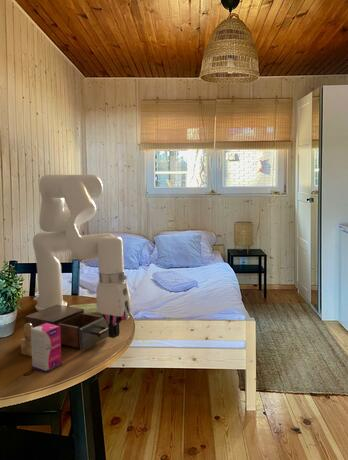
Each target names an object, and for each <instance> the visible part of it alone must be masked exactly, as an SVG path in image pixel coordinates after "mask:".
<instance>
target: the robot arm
mask: <svg viewBox="0 0 348 460" xmlns="http://www.w3.org/2000/svg"><path fill="white" fill-rule="evenodd" d="M103 186H104V185H103V183H102V180H101V178H99V176H97V175H96V174H45V175H42V176H41V177H40V178H39V182H38V188H39V193H40V197H41V202H40V210H39V219H38V220H39V222H38V223H39V228H40V229H41V230H42V231H39V232H37V233H36V234H35V235H34V236H33V237H32V246H33V250H34V254H35V262H36V275H37V276H36V277H37V290H38V291H37V292H38V294H37V295H35V297H33V301H35V302H37V304H36V305H34V307H35V310H36V311H37V312H38V311H41V310H43V309H46V308H49V307H51V306H54V305H63V306H68V302H67V301H65V300H64V295H63V294H64V293H63V292H64V291H63V277H62V276H63V275H62V264H61V262H60V260H59V259H58V258H57V257H56V256H55V255H58V254H65V253H66V254H67V253H71V254H72V256H73V257H74V258H75V259H76V260H79V261H86V260H93V259H97V264H98V281H97V286H96V296H95V299H96V300H95V304H96V306H97V311H98V315H99V316H101V317H103V318H104V319H105V320H106V324H108V332H109V337H108V338H111V339H115V338H117V337H119V336H120V333H121V331H120V324H121V323H122V321H127V320H129V319H130V315H129V313H131V311H132V304H131V302H132V301H131V295H130V289H129V285H128V282H127V281H126V280H127V279H128V275H126V274H125V261H124V241H123V239H122V238H121V236H117V235H113V234H112V233H108V232H104V233H93V234H82V235H81V234H80V229H81V226H82V224H84V223H87V222H88V221H90V220H91V219H92V218H93V217H95V215H96V213H97V205H96V204H95V201H94V199H99V198H100V197H102V195H103V192H104V187H103ZM65 204H66V206H65Z"/></svg>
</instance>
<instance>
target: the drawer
mask: <svg viewBox="0 0 348 460" xmlns="http://www.w3.org/2000/svg"><path fill="white" fill-rule="evenodd" d="M55 325H56V326H60V338H61V345H65V346H69V347H72V348H79V351H86V350H87V349H89V348H90V347H92V346H94V345H96V344H98V343H100V342H101V341H103V340H105V339H107V338H110V337H109V332H108V324H106V320H105V319H104V318H103V317H101V316H98V315H92V314H86V313H79V314H76V315H74V316H72V317H69V318H67V319H65V320H62V321H60V322H58V323H55Z"/></svg>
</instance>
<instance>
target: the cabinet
mask: <svg viewBox="0 0 348 460" xmlns="http://www.w3.org/2000/svg"><path fill="white" fill-rule="evenodd" d="M69 306H70V305H69ZM69 306H68V305H67V306H63V305H54V306H51V307H49V308H46V309H43V310H41V311H38V310H37V311H36V312H32V313H29V314H27V315H25V316H24V322H25V323H24V325H25V324H26V323H31V324H32V328H34V327H37V326H40V325H43V324H45V323H49V324H52V325H55V323H58V322H60V321H62V320H65V319H67V318H69V317H72V316H74V315H76V314H79V313H84V309H81V308H75V307H69Z"/></svg>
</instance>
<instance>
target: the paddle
mask: <svg viewBox="0 0 348 460" xmlns="http://www.w3.org/2000/svg"><path fill="white" fill-rule="evenodd" d="M31 329H32V324H31V323H26V324H25V323H24V325H23V333H24V338H21V339H20V350H21V355H23V356H24V355H25V356H28V357H32V342H31Z"/></svg>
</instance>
